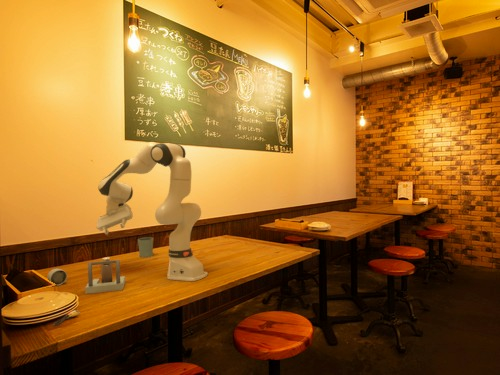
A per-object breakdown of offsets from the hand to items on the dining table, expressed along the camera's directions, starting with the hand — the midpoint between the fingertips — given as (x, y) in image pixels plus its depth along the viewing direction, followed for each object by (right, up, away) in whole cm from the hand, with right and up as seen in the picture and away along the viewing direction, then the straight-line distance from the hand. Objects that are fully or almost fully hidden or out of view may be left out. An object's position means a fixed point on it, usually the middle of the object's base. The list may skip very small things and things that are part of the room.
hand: (114, 230), depth 171 cm
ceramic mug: (-25, -26, -12) cm, 38 cm away
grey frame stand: (+4, -25, -19) cm, 32 cm away
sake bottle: (+4, -25, -17) cm, 30 cm away
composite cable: (+4, -27, -53) cm, 59 cm away
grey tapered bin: (+3, -24, +43) cm, 50 cm away
